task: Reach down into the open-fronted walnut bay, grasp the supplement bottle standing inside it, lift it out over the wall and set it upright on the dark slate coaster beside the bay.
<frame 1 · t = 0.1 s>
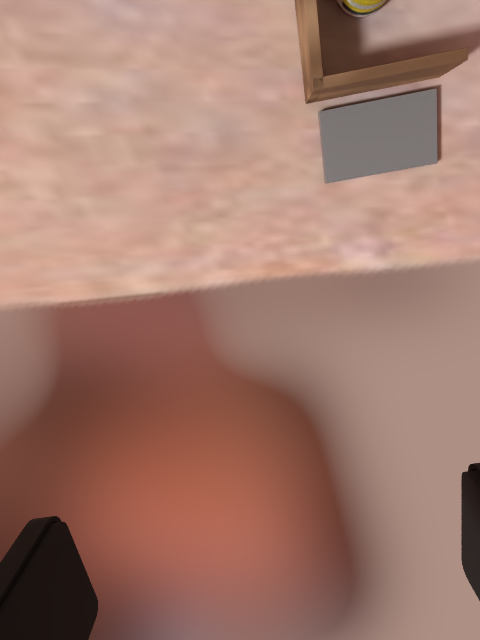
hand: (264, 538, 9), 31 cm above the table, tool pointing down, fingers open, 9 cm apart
slate coaster: (377, 138, 34), on the table
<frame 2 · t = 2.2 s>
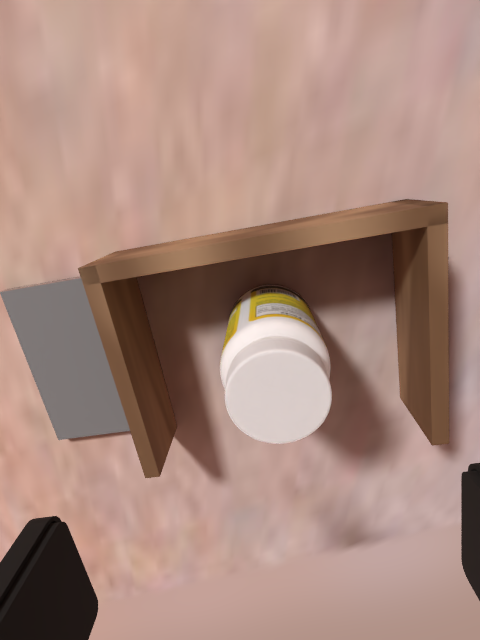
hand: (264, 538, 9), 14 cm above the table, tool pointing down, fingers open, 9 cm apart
slate coaster: (82, 359, 23), on the table
supplement bottle: (270, 321, 22), on the table
walnut bay: (271, 327, 22), on the table
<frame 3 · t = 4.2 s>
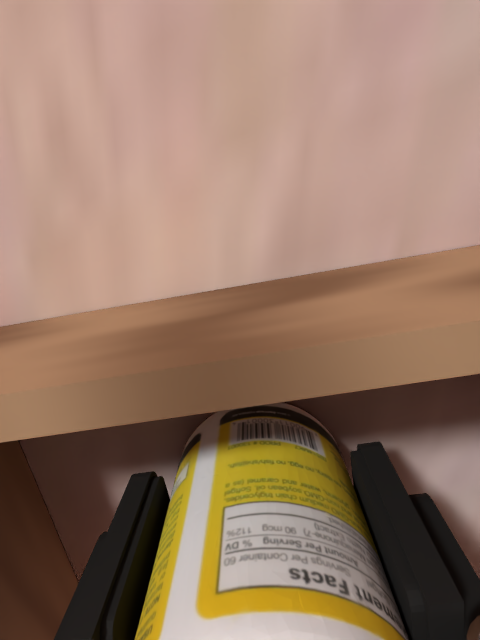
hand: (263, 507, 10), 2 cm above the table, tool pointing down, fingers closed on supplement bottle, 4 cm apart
supplement bottle: (261, 460, 12), on the table, touching gripper
walnut bay: (262, 472, 11), on the table
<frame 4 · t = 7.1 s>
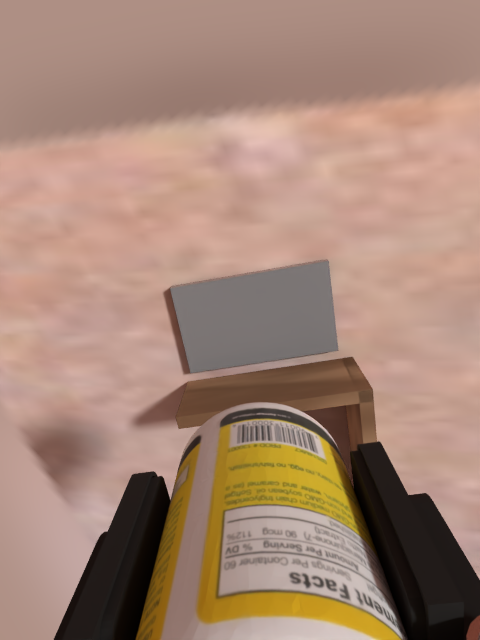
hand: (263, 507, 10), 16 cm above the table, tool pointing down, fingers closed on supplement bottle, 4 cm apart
slate coaster: (255, 317, 25), on the table
supplement bottle: (261, 462, 12), point 14 cm above the table, touching gripper
walnut bay: (284, 462, 29), on the table
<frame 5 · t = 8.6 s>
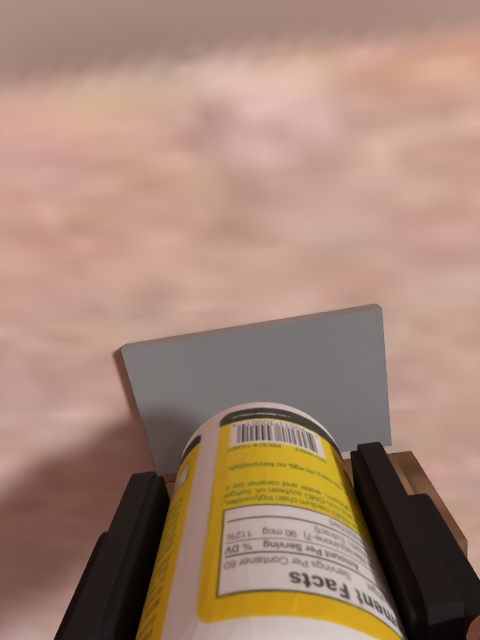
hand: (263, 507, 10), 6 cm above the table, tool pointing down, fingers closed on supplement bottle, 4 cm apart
slate coaster: (260, 391, 16), on the table
supplement bottle: (261, 462, 12), point 4 cm above the table, touching gripper
walnut bay: (302, 594, 19), on the table
when the fingers open (4 cm above the table, at t = 9.9 s): supplement bottle drops 2 cm, resting on slate coaster.
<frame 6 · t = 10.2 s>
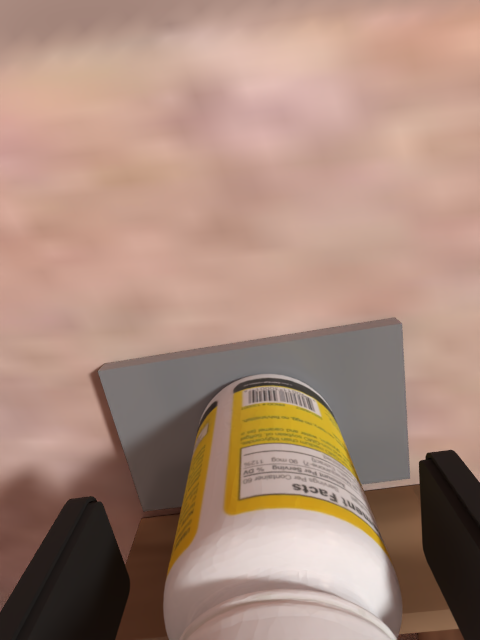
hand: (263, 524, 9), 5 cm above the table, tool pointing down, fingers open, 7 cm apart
slate coaster: (259, 417, 14), on the table
supplement bottle: (267, 427, 13), resting on slate coaster
walnut bay: (306, 636, 17), on the table
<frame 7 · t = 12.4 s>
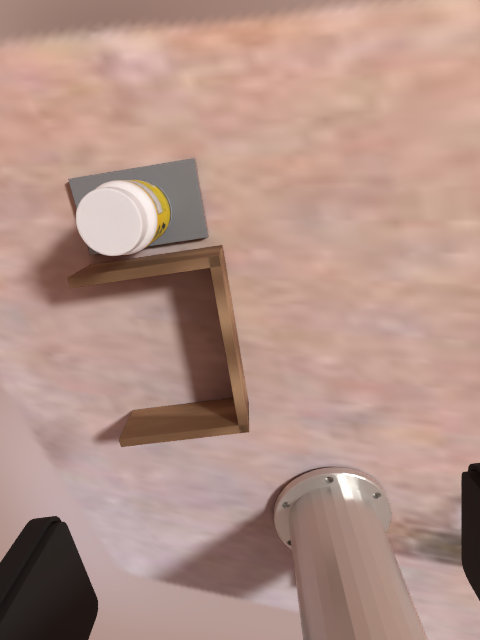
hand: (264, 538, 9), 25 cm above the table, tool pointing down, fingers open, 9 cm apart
slate coaster: (141, 208, 31), on the table
supplement bottle: (143, 210, 31), resting on slate coaster
walnut bay: (174, 338, 35), on the table
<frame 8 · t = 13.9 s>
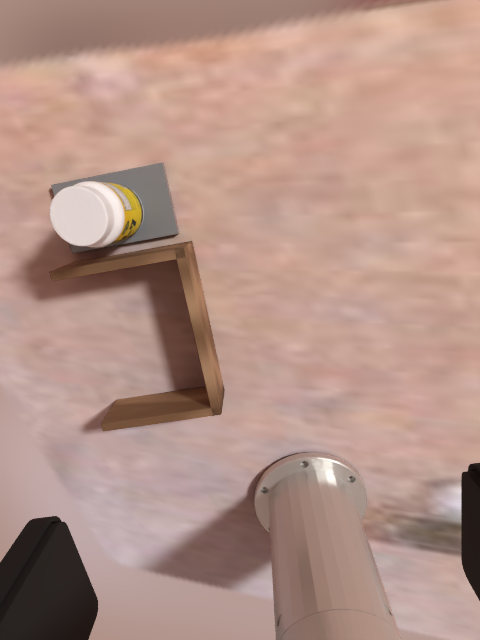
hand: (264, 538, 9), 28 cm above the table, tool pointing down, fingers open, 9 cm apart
slate coaster: (117, 209, 34), on the table
supplement bottle: (119, 211, 34), resting on slate coaster
walnut bay: (152, 329, 38), on the table
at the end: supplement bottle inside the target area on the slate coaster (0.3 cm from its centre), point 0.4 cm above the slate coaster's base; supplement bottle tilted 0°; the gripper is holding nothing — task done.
